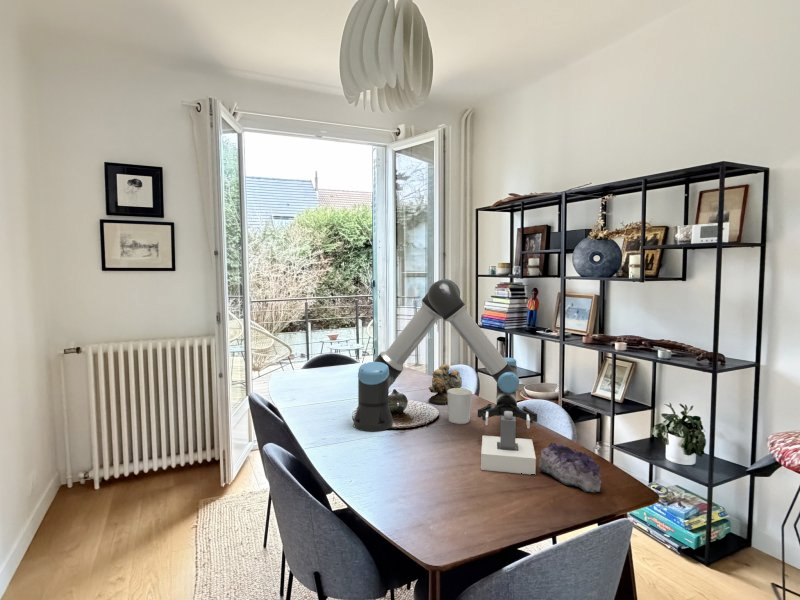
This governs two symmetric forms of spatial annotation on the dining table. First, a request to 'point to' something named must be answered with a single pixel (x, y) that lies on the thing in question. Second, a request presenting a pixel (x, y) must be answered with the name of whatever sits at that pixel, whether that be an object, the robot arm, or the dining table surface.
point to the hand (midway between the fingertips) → (507, 422)
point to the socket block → (508, 456)
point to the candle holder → (459, 405)
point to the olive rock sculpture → (443, 384)
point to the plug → (508, 431)
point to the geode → (571, 467)
